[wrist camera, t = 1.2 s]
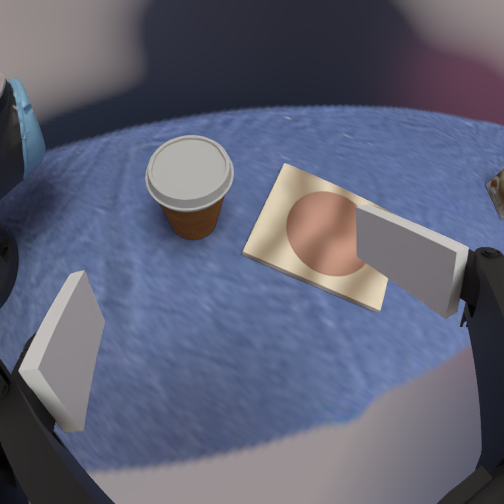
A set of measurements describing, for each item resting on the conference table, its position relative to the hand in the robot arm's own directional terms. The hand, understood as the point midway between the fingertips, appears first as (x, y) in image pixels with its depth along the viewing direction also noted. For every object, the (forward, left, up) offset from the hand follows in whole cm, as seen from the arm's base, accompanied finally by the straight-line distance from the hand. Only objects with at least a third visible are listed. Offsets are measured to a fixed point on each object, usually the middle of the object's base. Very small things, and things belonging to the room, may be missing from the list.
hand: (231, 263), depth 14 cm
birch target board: (+8, +18, -24) cm, 32 cm away
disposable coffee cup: (-10, +12, -25) cm, 29 cm away
